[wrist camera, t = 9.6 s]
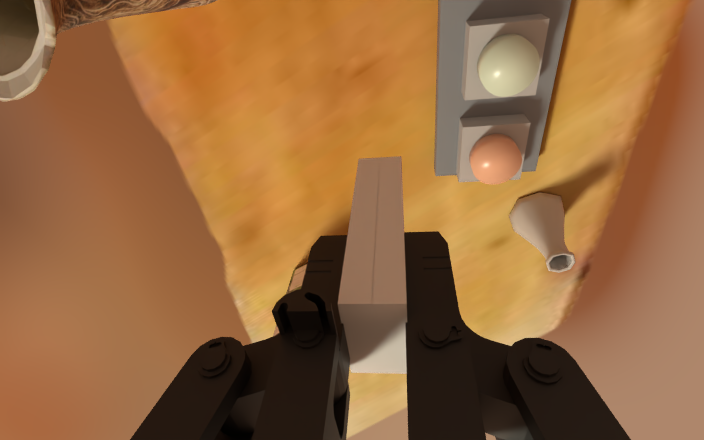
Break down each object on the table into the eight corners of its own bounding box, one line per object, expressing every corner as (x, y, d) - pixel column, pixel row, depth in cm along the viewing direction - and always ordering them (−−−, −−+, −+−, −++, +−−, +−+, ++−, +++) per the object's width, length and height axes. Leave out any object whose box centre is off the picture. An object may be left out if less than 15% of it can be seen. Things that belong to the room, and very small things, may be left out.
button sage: (475, 31, 37) (483, 41, 34) (531, 25, 37) (544, 35, 33) (471, 84, 40) (478, 98, 37) (522, 80, 40) (534, 94, 36)
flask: (568, 188, 50) (601, 237, 42) (559, 231, 54) (587, 282, 46) (510, 193, 51) (532, 241, 43) (506, 234, 55) (525, 285, 48)
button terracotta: (467, 127, 43) (473, 143, 40) (515, 123, 43) (525, 140, 39) (464, 166, 46) (470, 185, 43) (509, 164, 46) (518, 183, 42)
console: (441, -115, 33) (447, -120, 29) (590, -137, 31) (615, -145, 28) (434, 168, 50) (437, 186, 46) (530, 163, 48) (541, 181, 45)
